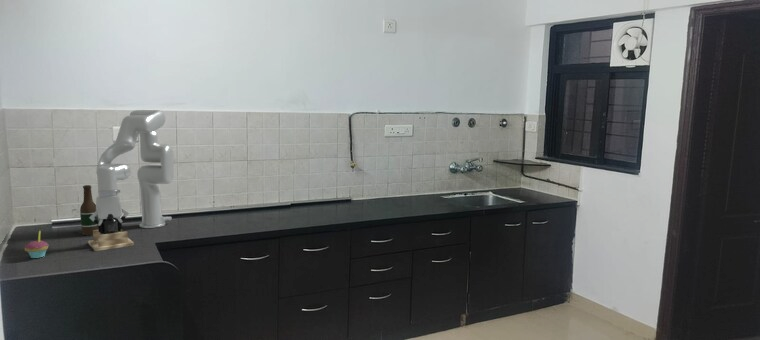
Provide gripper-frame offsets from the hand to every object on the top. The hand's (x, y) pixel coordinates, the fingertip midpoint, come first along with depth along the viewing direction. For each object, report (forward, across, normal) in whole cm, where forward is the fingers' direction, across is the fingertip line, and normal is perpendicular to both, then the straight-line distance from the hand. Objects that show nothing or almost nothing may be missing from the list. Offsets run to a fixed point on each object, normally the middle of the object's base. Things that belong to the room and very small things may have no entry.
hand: (110, 231), depth 251 cm
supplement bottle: (+4, 0, 0) cm, 4 cm away
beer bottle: (+6, +4, -27) cm, 28 cm away
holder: (+6, 0, 0) cm, 6 cm away
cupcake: (+6, +29, +4) cm, 30 cm away
